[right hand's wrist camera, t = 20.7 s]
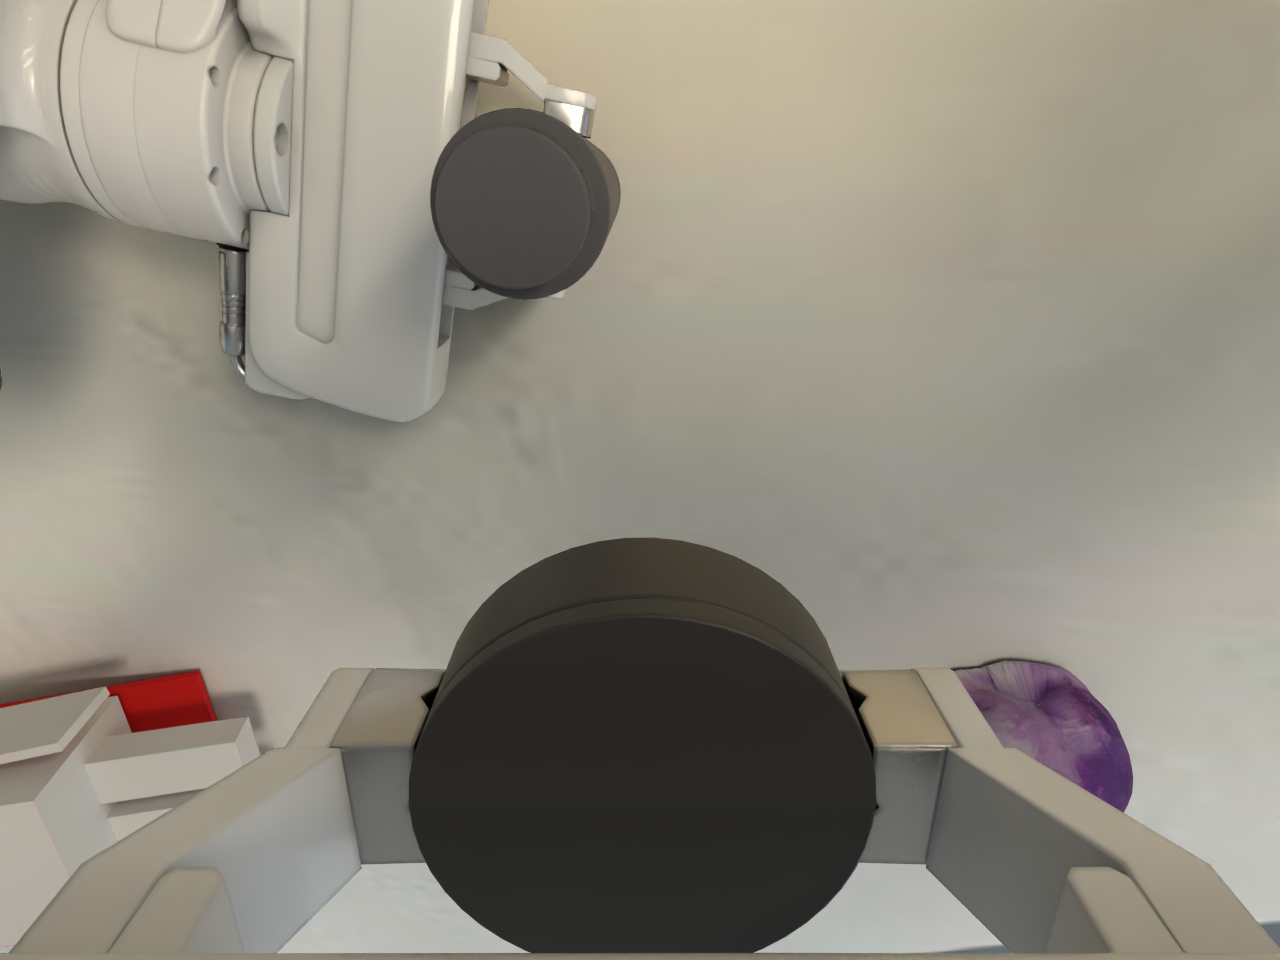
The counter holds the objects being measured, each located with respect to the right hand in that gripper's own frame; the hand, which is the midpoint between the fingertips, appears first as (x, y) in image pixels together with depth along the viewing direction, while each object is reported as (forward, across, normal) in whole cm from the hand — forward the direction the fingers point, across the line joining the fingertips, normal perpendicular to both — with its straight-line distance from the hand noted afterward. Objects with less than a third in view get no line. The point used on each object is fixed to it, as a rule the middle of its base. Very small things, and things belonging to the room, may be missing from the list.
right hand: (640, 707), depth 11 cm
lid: (-2, 0, 0) cm, 2 cm away
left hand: (+23, +2, -6) cm, 24 cm away
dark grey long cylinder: (+29, +3, -6) cm, 30 cm away
